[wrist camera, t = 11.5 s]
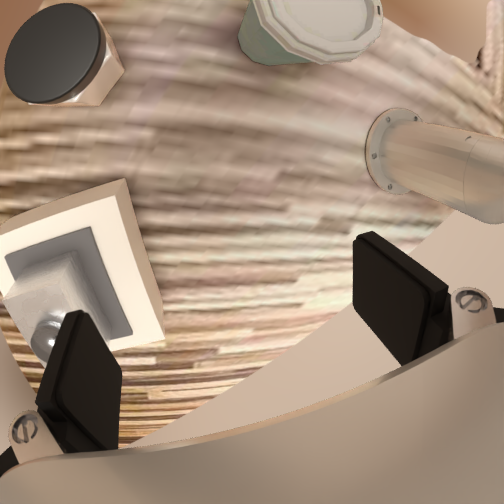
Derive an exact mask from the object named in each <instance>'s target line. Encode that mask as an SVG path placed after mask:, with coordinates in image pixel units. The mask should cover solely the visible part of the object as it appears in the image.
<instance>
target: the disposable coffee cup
mask: <svg viewBox="0 0 504 504" xmlns="http://www.w3.org/2000/svg"><path fill="white" fill-rule="evenodd" d="M382 22H383V9H382V5H381V2H380V0H250V2H249V5H248V7H247V10H246V13H245V15H244V18H243V21H242V24H241V27H240V30H239V33H238V40H239V43H240V46H241V50H242V51H243V52H244V53H245V54H246V55H247V56H248V57H249V58H250V59H251V60H252V61H254V62H258V63H261V64H264V65H267V66H272V65H282V64H293V63H308V62H315V63H318V64H320V65H323V64H332V63H342V62H351V61H352V60H353V59H356V58H357V57H358V56H359V55H361V54H362V53H363V52H364V51H365V50H366V49H367V48H368V47H370V46H371V45H372V44H373V43H374V42H375V39H377V38H378V37H379V36H380V33H381V27H382Z"/></svg>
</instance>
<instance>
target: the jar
mask: <svg viewBox="0 0 504 504" xmlns="http://www.w3.org/2000/svg"><path fill="white" fill-rule="evenodd" d="M4 70H5V78H6V82H7V84H8V87H9V88H10V90H11V91H12V93H13V94H14V95H15V96H16V97H18V98H19V99H21V100H22V101H25V102H28V104H30V105H46V106H60V107H68V106H99V105H100V104H101V103H102V101H103V100H104V98H105V97H106V95H107V94H108V93H109V91H110V90H111V89H112V87H113V86H114V85H115V83H116V82H117V81H118V80H119V78H120V77H121V76H122V74H123V73H124V68H123V66H122V63H121V61H120V58H119V56H118V53H117V50H116V48H115V45H114V43H113V40H112V38H111V37H110V35H109V33H108V32H107V30H106V29H105V27H104V25H103V24H102V22H101V21H100V19H99V17H98V16H97V14H96V13H92V12H91V11H90V10H88V9H87V8H85V7H83V6H81V5H78V4H73V3H61V4H56V5H52V6H49V7H47V8H45V9H43V10H41V11H39V12H38V13H36V14H35V15H33V16H32V17H31V18H30V19H28V20H27V21H26V22H25V23H24V24H23V25H22V26H21V28H20V29H19V30H18V32H17V33H16V34H15V36H14V38H13V39H12V41H11V43H10V45H9V48H8V51H7V54H6V58H5V67H4Z"/></svg>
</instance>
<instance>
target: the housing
mask: <svg viewBox="0 0 504 504" xmlns="http://www.w3.org/2000/svg"><path fill="white" fill-rule="evenodd" d="M2 301H3V303H4V305H5V307H6V308H7V310H8V312H9V314H10V315H11V317H12V319H13V320H14V322H15V324H16V325H17V327H18V329H19V330H20V332H21V334H22V335H23V337H24V338H25V340H26V341H27V343H28V344H29V346H30V347H31V349H32V350H33V352H34V353H35V355H36V356H37V358H38V359H39V361H40V362H41V363H42V365H43V366H44V368H46V365H47V362H48V359H49V356H50V354H51V351H52V348H53V345H54V343H55V340H56V337H57V335H58V332H59V329H60V327H61V324H62V322H63V319H64V317H65V315H66V313H68V312H72V311H76V310H80V309H81V310H83V311H84V312H88V313H89V314H90V316H91V318H92V320H93V321H94V323H95V325H96V327H97V329H98V331H99V332H100V334H101V336H102V338H103V339H104V341H105V343H106V344H107V346H108V348H109V345H110V337H111V330H112V327H111V325H110V323H109V321H108V319H107V317H106V315H105V313H104V311H103V309H102V307H101V305H100V303H99V301H98V299H97V297H96V295H95V293H94V290H93V288H92V286H91V284H90V282H89V279H88V277H87V275H86V272H85V270H84V268H83V265H82V263H81V261H80V258H79V256H78V253H77V251H76V250H73V251H70V252H67V253H64V254H61V255H58V256H55V257H52V258H49V259H46V260H43V261H40V262H37V263H34V264H31V265H28V266H26V267H25V268H24V269H23V271H22V272H21V274H20V275H19V276H18V278H17V279H16V281H15V282H14V284H13V285H12V287H11V288H10V290H9V291H8V293H7V294H6V296H5V297H4V299H3V300H2Z"/></svg>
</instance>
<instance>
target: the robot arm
mask: <svg viewBox="0 0 504 504" xmlns="http://www.w3.org/2000/svg"><path fill="white" fill-rule="evenodd" d="M366 161H367V167H368V170H369V173H370V175H371V177H372V179H373V180H374V182H375V183H376V184H377V185H378V186H379V187H380V188H381V189H383V190H384V191H387V192H389V193H392V194H398V195H401V194H405V193H408V192H410V191H415V192H417V193H420V194H422V195H424V196H427V197H429V198H431V199H434V200H436V201H438V202H441V203H443V204H445V205H447V206H449V207H452V208H454V209H456V210H458V211H460V212H462V213H465V214H467V215H469V216H471V217H473V218H475V219H478V220H479V221H481V222H484V223H488V224H501V223H504V139H502V138H498V137H494V136H490V135H485V134H481V133H476V132H472V131H467V130H462V129H458V128H452V127H447V126H442V125H436V124H430V123H424V122H423V121H422V119H421V118H420V117H419V116H418V115H417V114H415V113H414V112H412V111H410V110H407V109H391V110H388V111H386V112H384V113H383V114H381V115H380V116H379V117H378V118H377V120H376V121H375V122H374V124H373V125H372V127H371V130H370V132H369V135H368V138H367V144H366ZM448 288H449V286H448V285H447V284H445V283H444V282H443V281H442V280H440V279H439V278H438V277H436V276H435V275H434V274H432V273H431V272H430V271H428V270H427V269H426V268H424V267H423V266H422V265H420V264H419V263H418V262H416V261H415V260H413V259H412V258H411V257H409V256H408V255H407V254H405V253H404V252H402V251H401V250H400V249H398V248H397V247H395V246H394V245H393V244H391V243H390V242H388V241H387V240H385V239H384V238H383V237H381V236H380V235H378V234H377V233H375V232H373V231H370V232H366V233H363V234H359V235H358V236H357V237H356V240H354V241H353V306H354V309H355V310H356V312H357V313H358V314H359V315H360V317H361V318H362V319H363V320H364V321H365V323H367V325H368V326H369V327H370V328H371V329H372V331H373V332H374V333H375V334H376V335H377V337H378V338H379V339H380V340H381V342H382V343H383V344H384V345H385V346H386V348H387V349H388V350H389V351H390V352H391V354H392V355H393V356H394V357H395V358H396V360H397V361H398V362H399V363H400V364H401V366H402V367H400V368H398V369H396V370H394V371H392V372H389V373H387V374H385V375H383V376H381V377H379V378H377V379H374V380H372V381H370V382H368V383H365V384H363V385H361V386H358V387H356V388H354V389H351V390H349V391H346V392H344V393H342V394H339V395H336V396H334V397H332V398H329V399H326V400H324V401H321V402H318V403H315V404H313V405H310V406H307V407H304V408H301V409H298V410H296V411H293V412H290V413H286V414H283V415H280V416H277V417H274V418H270V419H267V420H264V421H260V422H257V423H253V424H250V425H246V426H242V427H238V428H235V429H231V430H227V431H223V432H219V433H214V434H209V435H205V436H201V437H195V438H190V439H186V440H180V441H175V442H169V443H162V444H157V445H150V446H142V447H134V448H126V449H118V436H119V414H120V399H121V386H122V371H121V368H120V366H119V364H118V363H117V361H116V359H115V358H114V356H113V355H112V353H111V351H110V350H109V348H108V346H107V344H106V343H105V341H104V339H103V338H102V336H101V334H100V332H99V331H98V329H97V327H96V325H95V323H94V321H93V320H92V318H91V316H90V314H89V313H88V312H84V311H83V310H81V309H80V310H76V311H72V312H68V313H66V315H65V317H64V319H63V322H62V324H61V327H60V329H59V332H58V335H57V337H56V340H55V343H54V345H53V348H52V351H51V354H50V356H49V359H48V362H47V365H46V368H45V371H44V374H43V377H42V380H41V384H40V387H39V390H38V393H37V397H36V400H35V403H36V405H38V410H37V412H36V411H34V410H27V411H23V412H22V413H20V414H19V415H17V416H16V417H15V418H14V420H13V421H12V423H11V424H10V427H9V433H8V437H9V441H10V444H11V446H10V447H9V448H8V449H7V450H6V451H5V452H4V453H2V454H1V455H0V504H504V309H502V308H495V307H493V306H492V302H491V300H490V298H489V297H488V296H487V294H485V293H484V292H483V291H481V290H479V289H476V288H471V287H463V288H459V289H457V290H455V291H454V292H453V293H452V295H450V294H449V293H448Z"/></svg>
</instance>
